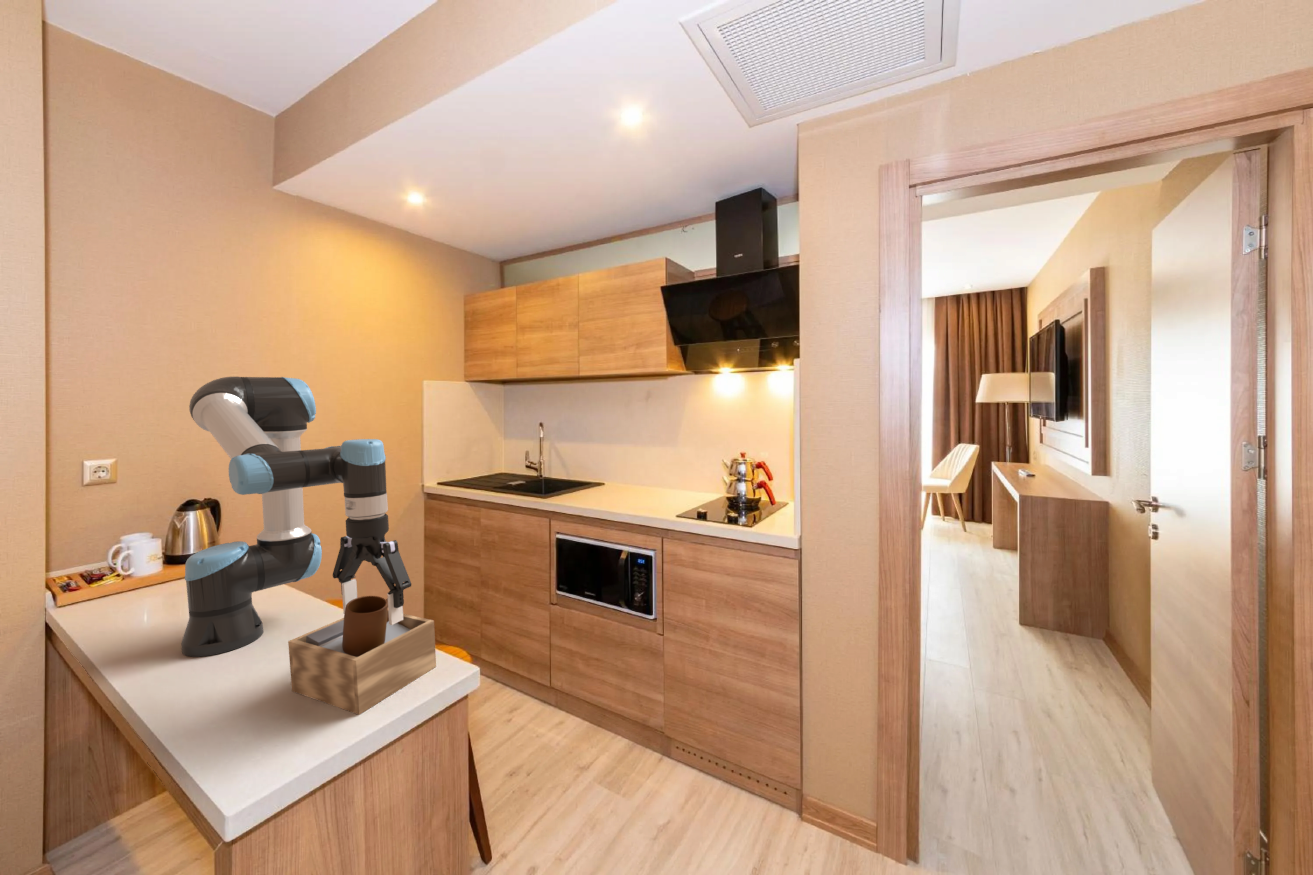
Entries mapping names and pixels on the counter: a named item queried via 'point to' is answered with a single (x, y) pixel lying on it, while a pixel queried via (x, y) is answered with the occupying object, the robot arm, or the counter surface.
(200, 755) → the counter surface
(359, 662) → the trapdoor frame
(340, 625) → the trapdoor
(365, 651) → the mug
